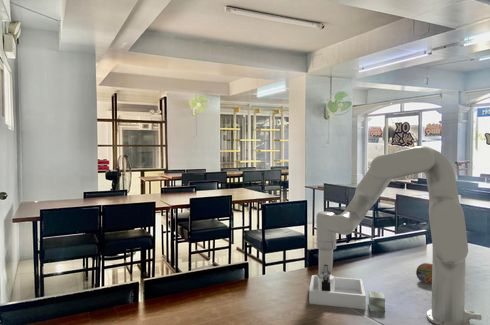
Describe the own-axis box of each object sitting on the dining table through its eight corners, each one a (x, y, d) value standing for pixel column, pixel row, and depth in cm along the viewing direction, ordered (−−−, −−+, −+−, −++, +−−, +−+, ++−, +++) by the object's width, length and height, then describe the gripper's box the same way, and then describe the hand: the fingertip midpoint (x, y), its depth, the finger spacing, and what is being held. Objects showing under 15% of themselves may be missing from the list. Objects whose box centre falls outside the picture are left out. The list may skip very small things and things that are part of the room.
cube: (383, 306, 127) (383, 292, 127) (384, 312, 123) (385, 298, 122) (368, 304, 129) (368, 291, 128) (370, 310, 124) (370, 297, 124)
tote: (361, 291, 140) (362, 279, 140) (365, 309, 125) (365, 295, 124) (311, 286, 145) (311, 275, 145) (309, 303, 130) (309, 290, 129)
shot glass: (336, 298, 132) (336, 280, 132) (317, 296, 133) (317, 279, 133) (335, 290, 139) (335, 273, 138) (317, 289, 140) (317, 272, 140)
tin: (416, 282, 149) (416, 262, 149) (416, 279, 152) (416, 260, 151) (456, 288, 142) (457, 268, 142) (456, 285, 145) (456, 266, 144)
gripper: (317, 237, 144) (317, 277, 145) (315, 249, 127) (315, 295, 128) (336, 238, 142) (336, 279, 143) (336, 250, 126) (336, 297, 126)
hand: (326, 286), depth 136 cm, fingers open, 9 cm apart
